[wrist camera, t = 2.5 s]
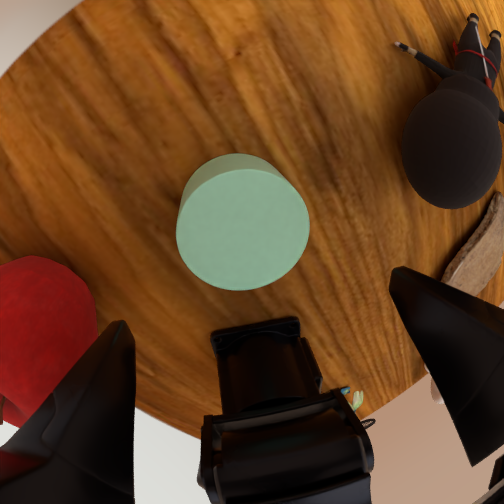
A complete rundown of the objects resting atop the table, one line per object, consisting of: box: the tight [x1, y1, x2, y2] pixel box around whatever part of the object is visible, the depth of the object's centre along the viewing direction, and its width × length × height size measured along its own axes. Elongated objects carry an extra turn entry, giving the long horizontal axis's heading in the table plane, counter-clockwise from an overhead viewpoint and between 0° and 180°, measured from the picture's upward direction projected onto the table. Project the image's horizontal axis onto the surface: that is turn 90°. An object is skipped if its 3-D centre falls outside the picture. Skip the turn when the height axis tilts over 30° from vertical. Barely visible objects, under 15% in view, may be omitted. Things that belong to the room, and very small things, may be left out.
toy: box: [394, 13, 504, 209], centre depth 11 cm, size 11×6×15 cm
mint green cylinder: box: [176, 153, 310, 290], centre depth 14 cm, size 6×6×4 cm
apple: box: [0, 255, 98, 428], centre depth 12 cm, size 10×10×11 cm
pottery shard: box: [441, 192, 504, 297], centre depth 21 cm, size 8×3×15 cm
